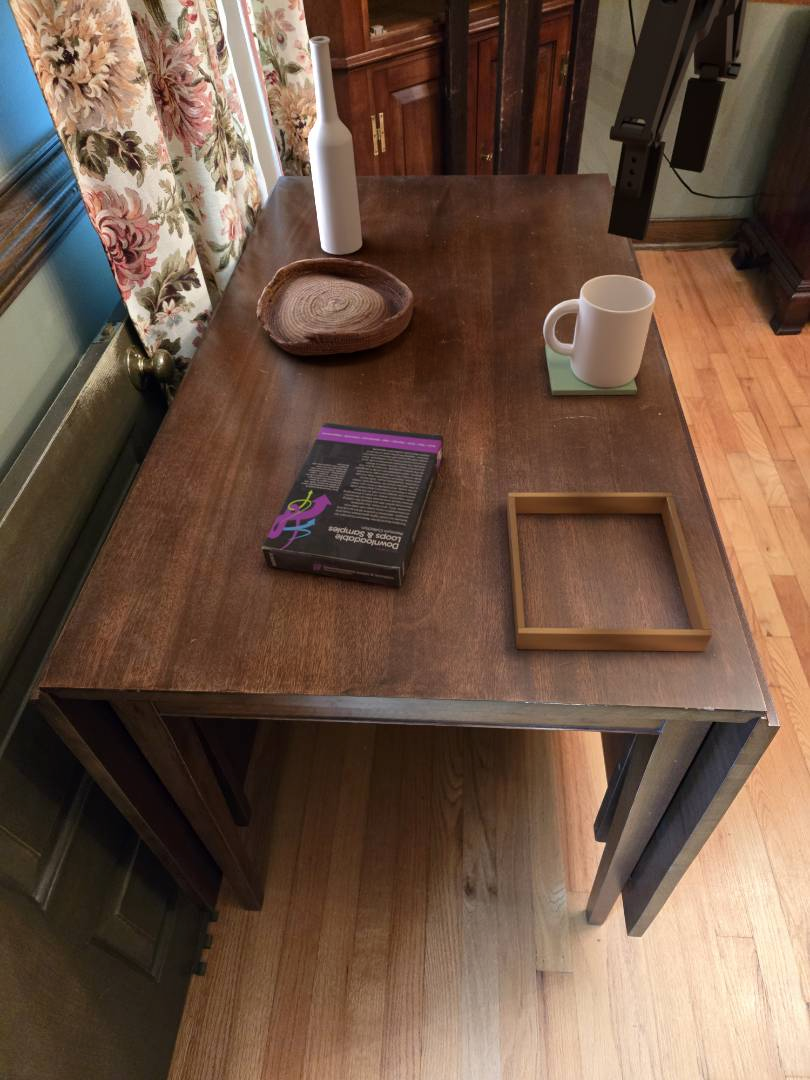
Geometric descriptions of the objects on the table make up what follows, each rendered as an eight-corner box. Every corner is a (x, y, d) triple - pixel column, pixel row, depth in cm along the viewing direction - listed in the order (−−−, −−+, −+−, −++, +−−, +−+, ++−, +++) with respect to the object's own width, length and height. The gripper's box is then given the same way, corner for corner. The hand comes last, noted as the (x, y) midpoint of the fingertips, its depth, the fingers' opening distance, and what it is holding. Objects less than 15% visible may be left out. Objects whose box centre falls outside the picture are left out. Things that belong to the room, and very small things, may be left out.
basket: (230, 324, 102) (222, 291, 98) (336, 269, 111) (332, 237, 107) (339, 387, 91) (334, 353, 87) (445, 320, 100) (445, 287, 96)
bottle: (352, 231, 119) (331, 29, 99) (369, 247, 115) (352, 40, 94) (315, 241, 117) (286, 37, 97) (331, 258, 113) (305, 49, 93)
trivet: (636, 394, 87) (637, 389, 87) (552, 395, 88) (552, 390, 87) (623, 347, 94) (624, 342, 93) (545, 348, 94) (545, 343, 94)
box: (327, 444, 84) (264, 568, 72) (323, 420, 82) (257, 544, 69) (445, 459, 81) (400, 591, 69) (444, 434, 79) (398, 566, 66)
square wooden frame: (665, 509, 74) (671, 492, 72) (704, 651, 63) (712, 635, 61) (506, 509, 75) (508, 492, 73) (516, 649, 64) (518, 633, 62)
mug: (536, 383, 88) (544, 306, 81) (542, 345, 94) (551, 270, 86) (637, 393, 86) (656, 315, 78) (638, 353, 91) (656, 277, 84)
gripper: (734, -194, 50) (665, 138, 66) (589, -149, 36) (547, 256, 52) (851, -196, 47) (750, 152, 63) (742, -148, 33) (648, 281, 49)
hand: (658, 200), depth 57 cm, fingers open, 13 cm apart
